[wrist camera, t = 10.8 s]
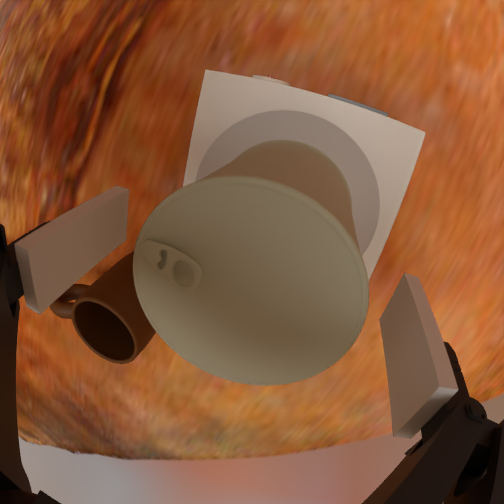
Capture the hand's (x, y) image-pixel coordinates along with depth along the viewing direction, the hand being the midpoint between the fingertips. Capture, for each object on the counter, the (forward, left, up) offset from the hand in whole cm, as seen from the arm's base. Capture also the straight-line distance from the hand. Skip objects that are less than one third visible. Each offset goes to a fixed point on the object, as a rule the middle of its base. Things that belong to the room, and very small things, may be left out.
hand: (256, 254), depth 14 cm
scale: (0, 0, -14) cm, 14 cm away
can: (0, 0, -9) cm, 9 cm away
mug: (+14, -14, -14) cm, 24 cm away
